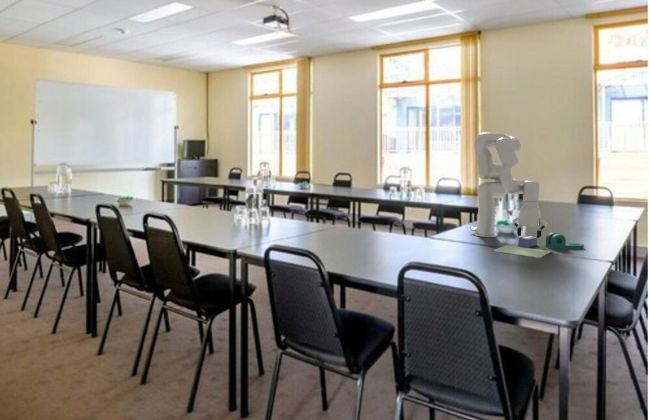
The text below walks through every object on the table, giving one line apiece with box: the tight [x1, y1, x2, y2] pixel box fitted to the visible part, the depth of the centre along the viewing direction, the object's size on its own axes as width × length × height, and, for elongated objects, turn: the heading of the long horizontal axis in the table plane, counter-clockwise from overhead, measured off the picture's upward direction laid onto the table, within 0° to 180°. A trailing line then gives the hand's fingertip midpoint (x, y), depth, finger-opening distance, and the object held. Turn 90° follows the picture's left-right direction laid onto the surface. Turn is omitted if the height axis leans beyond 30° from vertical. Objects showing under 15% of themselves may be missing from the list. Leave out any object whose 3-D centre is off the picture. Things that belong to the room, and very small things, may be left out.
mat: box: [492, 244, 551, 259], centre depth 233 cm, size 22×18×1 cm
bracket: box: [545, 231, 585, 251], centre depth 243 cm, size 18×7×8 cm, turn 93°
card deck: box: [517, 235, 538, 248], centre depth 249 cm, size 6×9×5 cm, turn 130°
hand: (528, 236), depth 248 cm, fingers open, 9 cm apart
